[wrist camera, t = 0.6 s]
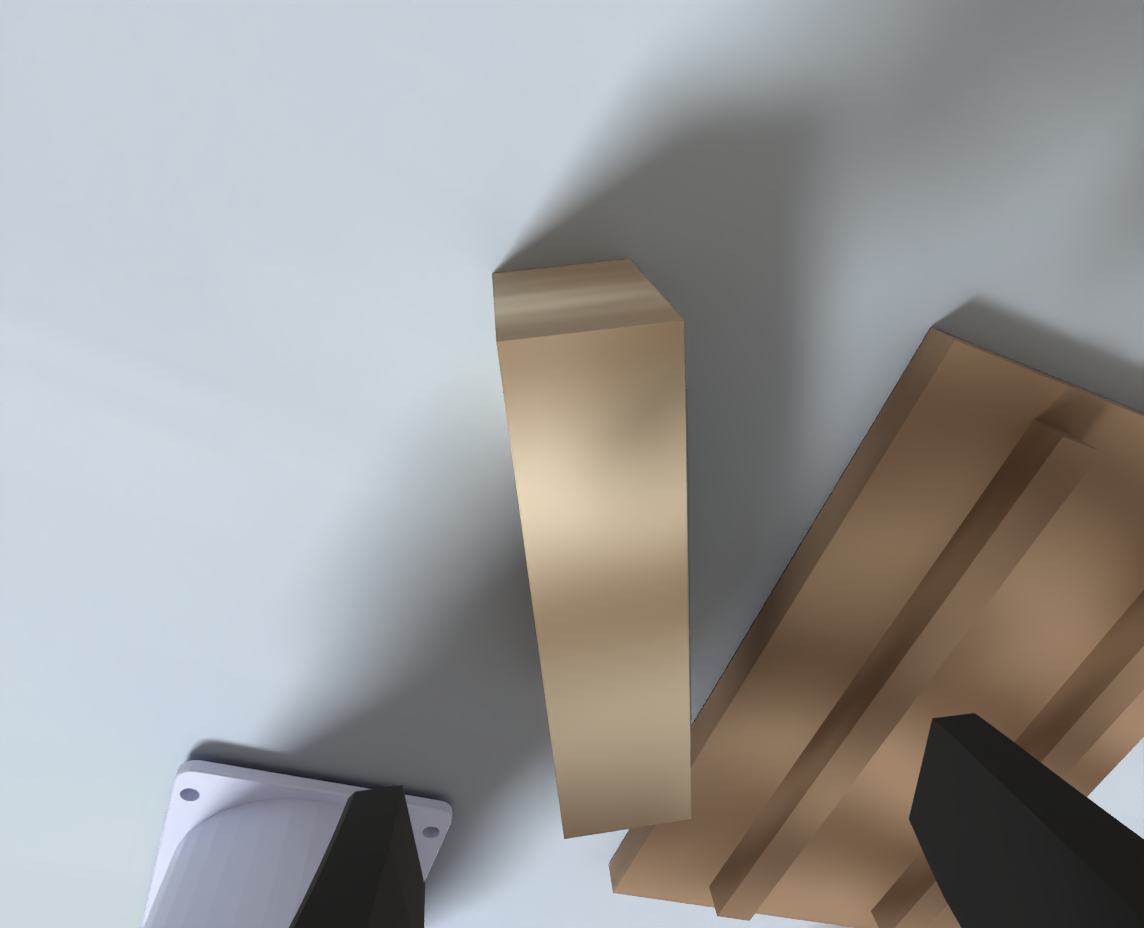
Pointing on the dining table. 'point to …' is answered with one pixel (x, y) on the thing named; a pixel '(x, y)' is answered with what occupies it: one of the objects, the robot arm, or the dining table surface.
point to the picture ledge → (918, 646)
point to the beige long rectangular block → (604, 531)
